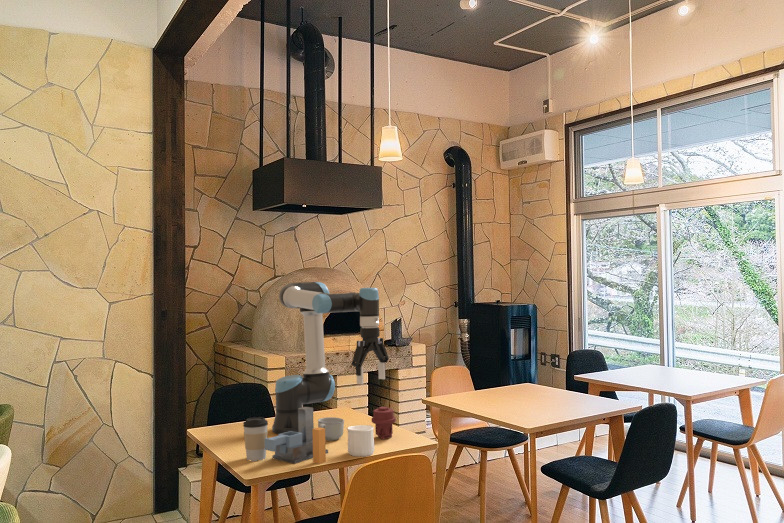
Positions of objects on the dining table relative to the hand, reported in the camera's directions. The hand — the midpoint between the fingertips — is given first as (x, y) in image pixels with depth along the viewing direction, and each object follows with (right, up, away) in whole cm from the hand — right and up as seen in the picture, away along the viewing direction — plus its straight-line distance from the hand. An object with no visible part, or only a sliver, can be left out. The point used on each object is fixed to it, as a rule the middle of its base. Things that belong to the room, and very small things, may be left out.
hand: (371, 381), depth 250 cm
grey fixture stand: (-26, -26, -11) cm, 38 cm away
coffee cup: (-42, -26, -13) cm, 51 cm away
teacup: (-18, -26, +12) cm, 34 cm away
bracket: (-31, -23, -17) cm, 43 cm away
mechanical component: (+5, -26, +13) cm, 29 cm away
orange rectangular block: (-18, -25, -20) cm, 37 cm away
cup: (-3, -25, -10) cm, 28 cm away
